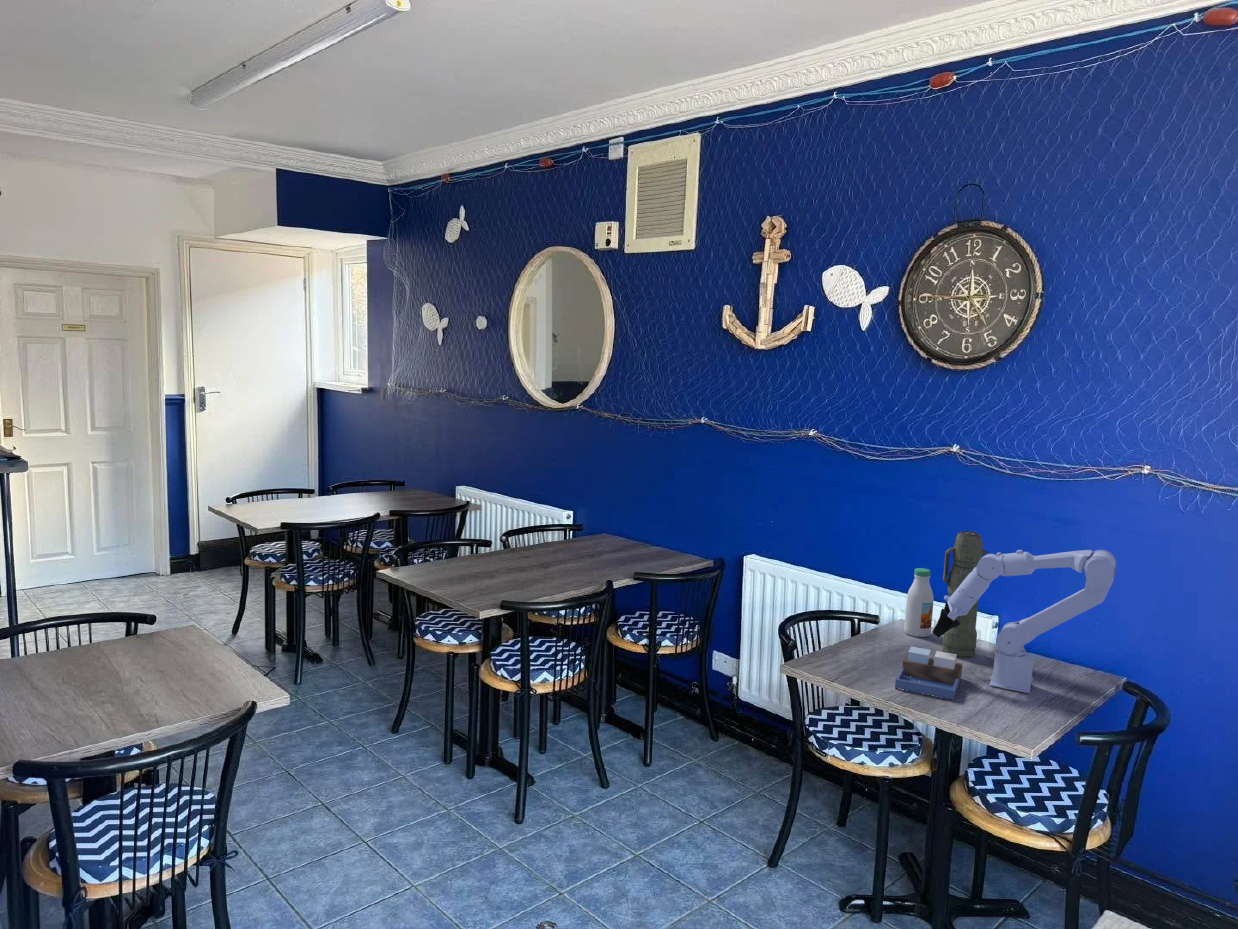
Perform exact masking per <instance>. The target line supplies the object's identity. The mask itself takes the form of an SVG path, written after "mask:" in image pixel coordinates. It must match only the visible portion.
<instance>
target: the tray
mask: <svg viewBox="0 0 1238 929" xmlns="http://www.w3.org/2000/svg"><path fill="white" fill-rule="evenodd" d="M919 681H920V682H919ZM958 681H959V679H957V678H956V680H955V683H954V685H951V684H946V683H941V682H936V681H930V680H925V679H920V678H915V677H910V676H905V675H904V668H902V667H901V668H900V671H899V672H898V673H897V676H896V678H895V683H894V689H895V688H900V689H904V690H908V691H907V692H909V691H912V692H911V693H914V692H917V693H916V694H919V693H924V694H929V695H934V696H938V697H942V698H941V699H943V698H945V699H944V700H948V699H952V700H951V701H954V700H955V698H954V697H956V695H957V692H958V688H959V686H958ZM904 690H903V691H904ZM956 691H957V692H956ZM924 694H923V695H924ZM955 694H956V695H955ZM929 695H928V696H929ZM934 696H933V697H934ZM938 697H937V698H938Z"/></svg>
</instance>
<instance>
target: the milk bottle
mask: <svg viewBox="0 0 1238 929" xmlns="http://www.w3.org/2000/svg"><path fill="white" fill-rule="evenodd" d="M931 572H932V571H931V569H929V568H923V567H919V568H918V567H917V568H915V569H914V575H913V576H914V579H913V581H912V584H911V586H910V587H909V589H908V591H907V595H906V601H905V602H906V604H905V612H904V614H905V615H904V625H903V627H904V628H903V631H904V633H905V634H906V635H908V636H912V637H917V638H928V637H930V635H931V634H932V633H931V632H932V623H933V613H934V612H933V610H934V593H933V589H932V587H931V584H930V578H931Z"/></svg>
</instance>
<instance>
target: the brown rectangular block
mask: <svg viewBox="0 0 1238 929" xmlns="http://www.w3.org/2000/svg"><path fill="white" fill-rule="evenodd" d="M933 665H934V657H933V658H932V657H930V660H929V662H928V665H926V664H921V663H916V662H910V661H908V653H906V655H905V656H904V658H903V661H902V667H901V669H902V668H904V675H905V676H911V677H915V678H920V679H925V680H930V681H936V682H941V683H946V684H951V685H954V683H955V680H956V678H957V679H959V681H958V687H959V685H960V683H961V680H962V672H963V663H959V662H956V665H955V668H954V670H953V669H948V668H942V667H937V666H933Z"/></svg>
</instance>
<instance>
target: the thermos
mask: <svg viewBox="0 0 1238 929" xmlns="http://www.w3.org/2000/svg"><path fill="white" fill-rule="evenodd" d="M952 552H953V554H952V555H953V556H952V559H953V563H952V566H951V568H949V566H950V558H951V557H950V555H951V553H952ZM987 554H990V553H989V551H988V550H987V549H984V542H983V538H982V535H981V534H979V533H978V532H976V531H968V530H963V531H960V532H958V533H957V534H956V536H955V540H954V545H953V547H949V548H948V549H947V550H946V551H945V554H944V563H943V575H942V581H943V582H944V583H945V584H946V585H947V593H948V596H949V597H951V596H952V594H953V593H954V592H955V591H956V589H957V588H958V587H959V586H960V584H961V583H962V582H963V581H964V579H965V578H966V577H967V576H968V575H969V573H971V572H972V570H973V569H974V568H975V567H977V564H978V562H979V561H980V560H981V558H982V557H983V555H984V556H985V555H987ZM949 569H950V570H949ZM978 610H979V599H978V600H977V602H976V603H975V604H974V605H973V607H972V608H971V609H970V610H969V613H968V614H967V615H963V616H959V617H957V618H956V620H957V621H959V622H960V625H958V626H956V627H953V628H951V629H950V630H948V631H947V632H946V633H945V634H943V635H942V651H943V652H945V653H951V654H956V655H957V657H958V658H957V659H964V658H967V659H972V658H971V657H973V658H974V657H975V655H976V654H975V650H976V648H977V641H978V640H977V639H978V632H977V629H976V628H977V621H978V620H977V619H978ZM942 651H941V652H942Z"/></svg>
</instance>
